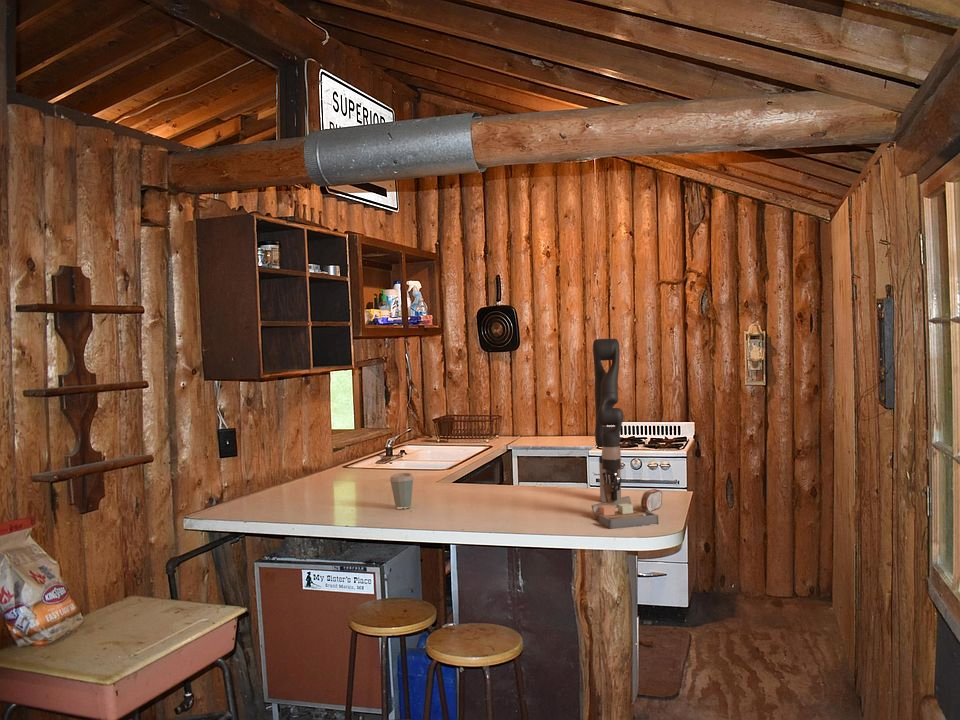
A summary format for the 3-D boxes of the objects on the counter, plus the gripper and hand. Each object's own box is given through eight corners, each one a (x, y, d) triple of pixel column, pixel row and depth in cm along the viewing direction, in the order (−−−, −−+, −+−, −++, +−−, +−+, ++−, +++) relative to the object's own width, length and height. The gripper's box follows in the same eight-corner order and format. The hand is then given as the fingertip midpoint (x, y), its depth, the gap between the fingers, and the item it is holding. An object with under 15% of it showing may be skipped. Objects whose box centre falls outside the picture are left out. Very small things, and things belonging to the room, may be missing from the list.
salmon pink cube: (599, 513, 308) (599, 505, 308) (609, 512, 309) (609, 504, 309) (604, 515, 304) (603, 508, 304) (614, 514, 305) (614, 507, 305)
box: (599, 523, 298) (599, 515, 298) (647, 519, 304) (647, 510, 304) (609, 529, 290) (609, 519, 290) (658, 524, 295) (658, 515, 295)
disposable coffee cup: (410, 510, 334) (409, 476, 334) (387, 510, 336) (386, 476, 336) (417, 505, 344) (416, 472, 344) (394, 505, 347) (393, 472, 346)
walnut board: (593, 518, 309) (593, 513, 308) (632, 514, 313) (632, 509, 313) (603, 523, 299) (603, 518, 299) (643, 519, 303) (643, 514, 303)
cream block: (617, 511, 310) (617, 504, 310) (628, 510, 311) (628, 503, 311) (622, 513, 306) (622, 506, 306) (633, 513, 307) (632, 505, 307)
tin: (657, 506, 327) (656, 487, 327) (663, 507, 325) (663, 487, 325) (640, 513, 316) (639, 492, 316) (647, 514, 314) (646, 493, 314)
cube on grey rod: (592, 512, 311) (587, 488, 310) (628, 502, 314) (624, 479, 313) (594, 513, 308) (590, 489, 307) (631, 504, 311) (627, 480, 310)
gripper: (595, 455, 316) (597, 496, 317) (609, 460, 303) (610, 503, 303) (612, 454, 318) (613, 495, 319) (627, 459, 304) (628, 502, 305)
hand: (612, 499), depth 311 cm, fingers closed on cube on grey rod, 3 cm apart
